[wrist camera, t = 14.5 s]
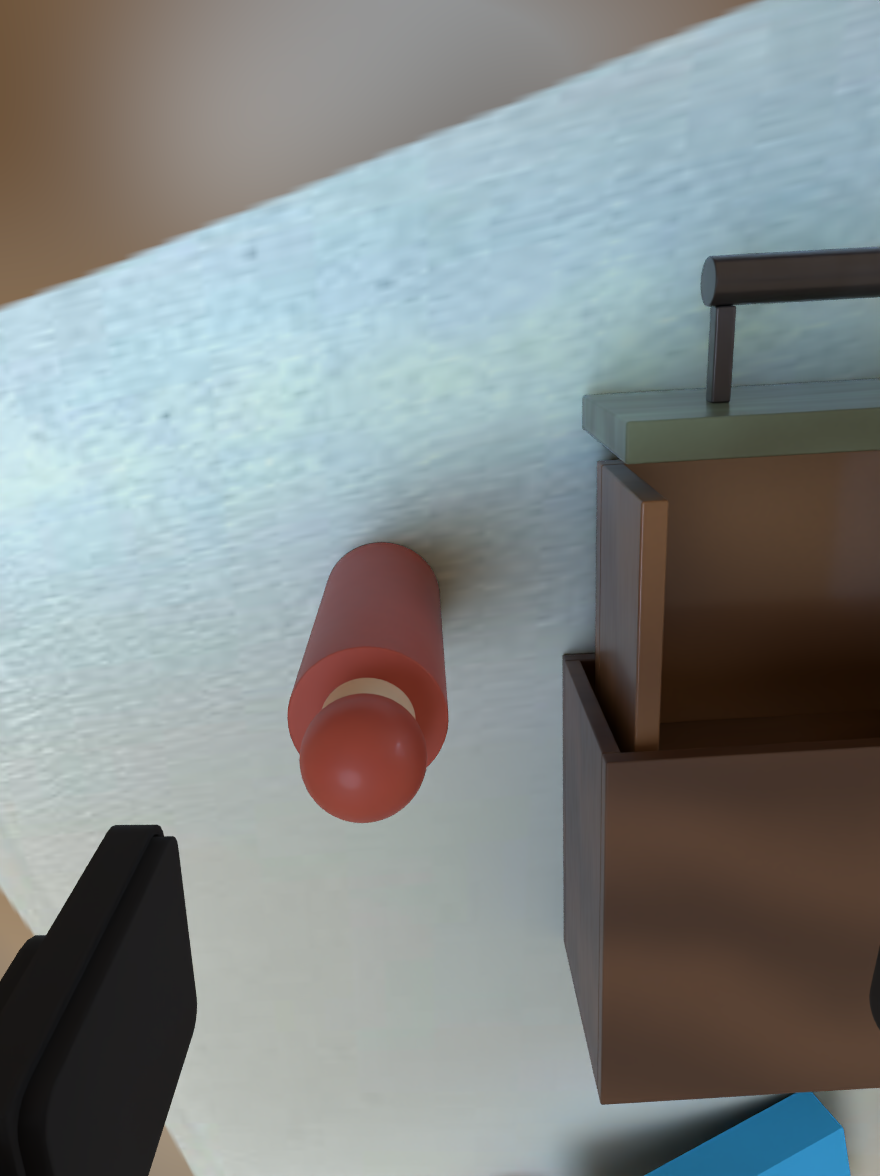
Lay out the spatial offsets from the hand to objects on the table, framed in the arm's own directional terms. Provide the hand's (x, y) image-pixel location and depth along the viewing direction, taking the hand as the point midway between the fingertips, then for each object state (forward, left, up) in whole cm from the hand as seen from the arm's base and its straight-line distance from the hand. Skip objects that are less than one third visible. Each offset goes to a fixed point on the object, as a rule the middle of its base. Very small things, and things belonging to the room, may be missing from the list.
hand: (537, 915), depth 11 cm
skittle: (+4, -2, -22) cm, 22 cm away
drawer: (-3, +10, -21) cm, 24 cm away
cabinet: (+9, +15, -22) cm, 28 cm away
